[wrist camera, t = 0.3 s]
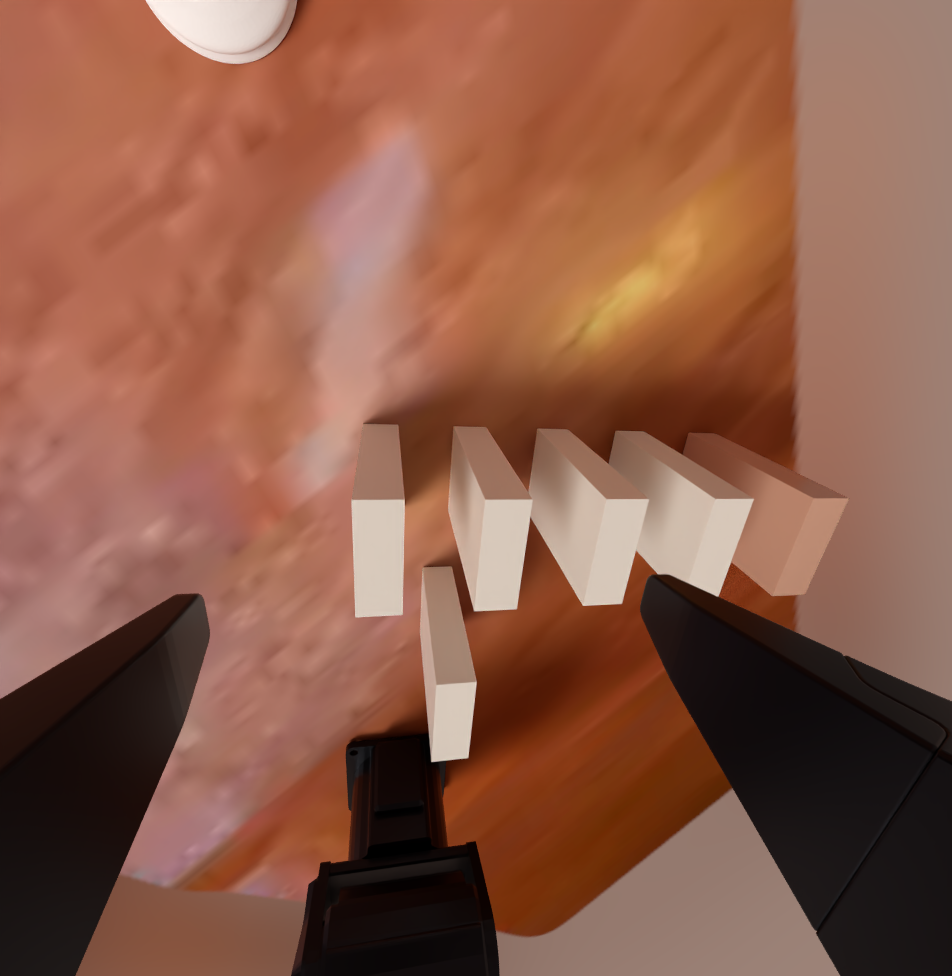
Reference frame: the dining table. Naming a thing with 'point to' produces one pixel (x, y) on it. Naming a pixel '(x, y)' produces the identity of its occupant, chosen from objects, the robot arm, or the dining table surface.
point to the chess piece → (227, 26)
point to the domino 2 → (446, 666)
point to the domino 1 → (378, 523)
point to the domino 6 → (772, 514)
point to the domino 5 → (682, 511)
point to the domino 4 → (585, 515)
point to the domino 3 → (488, 518)
